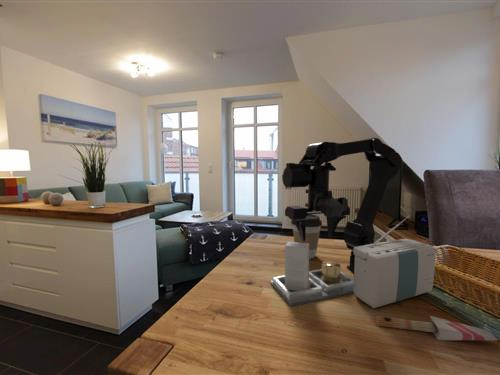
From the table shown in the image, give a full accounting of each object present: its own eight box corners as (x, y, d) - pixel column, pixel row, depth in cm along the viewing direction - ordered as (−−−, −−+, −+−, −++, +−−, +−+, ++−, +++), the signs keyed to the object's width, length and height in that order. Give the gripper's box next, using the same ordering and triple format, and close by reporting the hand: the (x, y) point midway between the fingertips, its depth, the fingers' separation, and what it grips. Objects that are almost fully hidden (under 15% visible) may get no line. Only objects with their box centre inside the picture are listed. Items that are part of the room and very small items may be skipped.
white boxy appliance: (375, 313, 55) (379, 228, 53) (348, 295, 62) (351, 220, 60) (434, 295, 62) (440, 220, 60) (404, 281, 70) (408, 213, 68)
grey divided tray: (331, 272, 76) (332, 254, 75) (360, 291, 64) (361, 270, 64) (270, 283, 69) (270, 263, 68) (290, 306, 57) (291, 283, 57)
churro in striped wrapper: (501, 334, 44) (378, 320, 49) (500, 349, 44) (378, 332, 49) (487, 321, 47) (374, 309, 53) (486, 334, 47) (374, 320, 53)
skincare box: (309, 285, 66) (310, 243, 65) (307, 293, 62) (308, 248, 61) (287, 282, 68) (287, 240, 67) (284, 289, 64) (284, 245, 63)
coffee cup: (298, 248, 98) (298, 212, 96) (325, 254, 91) (326, 215, 90) (284, 257, 88) (285, 217, 87) (314, 264, 82) (315, 221, 80)
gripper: (305, 190, 58) (304, 252, 60) (365, 188, 64) (363, 244, 66) (284, 186, 69) (283, 239, 70) (338, 185, 75) (336, 233, 76)
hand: (317, 239), depth 70 cm, fingers open, 9 cm apart
